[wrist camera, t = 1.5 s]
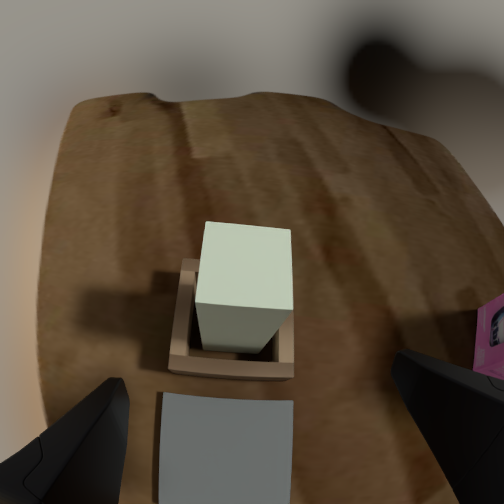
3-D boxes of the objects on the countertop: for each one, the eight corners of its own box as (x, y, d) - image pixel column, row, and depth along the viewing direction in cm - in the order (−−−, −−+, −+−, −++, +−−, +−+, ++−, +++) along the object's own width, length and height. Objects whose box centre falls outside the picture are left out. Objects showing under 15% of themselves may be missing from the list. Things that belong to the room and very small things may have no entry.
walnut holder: (285, 381, 19) (293, 377, 17) (173, 373, 19) (167, 368, 17) (284, 281, 24) (292, 267, 21) (185, 273, 23) (182, 257, 21)
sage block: (258, 353, 20) (293, 309, 12) (203, 349, 20) (195, 302, 11) (259, 303, 22) (290, 229, 14) (207, 299, 22) (206, 221, 13)
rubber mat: (287, 509, 14) (288, 511, 14) (159, 503, 13) (158, 505, 13) (291, 400, 19) (293, 400, 18) (164, 392, 18) (163, 392, 18)
